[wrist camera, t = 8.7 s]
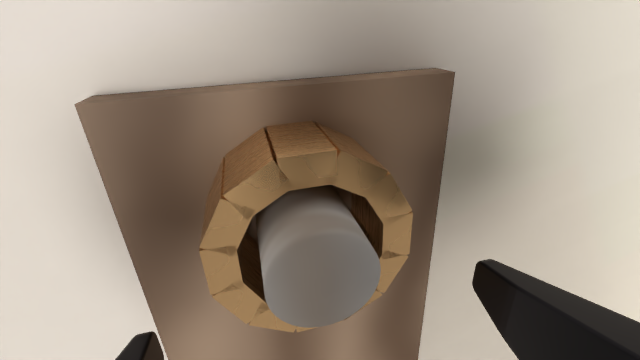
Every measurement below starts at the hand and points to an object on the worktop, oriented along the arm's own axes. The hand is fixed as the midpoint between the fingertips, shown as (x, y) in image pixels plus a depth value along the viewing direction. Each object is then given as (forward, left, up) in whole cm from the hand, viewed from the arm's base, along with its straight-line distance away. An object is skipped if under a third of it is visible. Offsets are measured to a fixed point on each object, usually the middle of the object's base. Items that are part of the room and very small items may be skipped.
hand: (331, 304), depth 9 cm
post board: (0, +6, -8) cm, 10 cm away
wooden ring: (0, 0, -6) cm, 6 cm away
